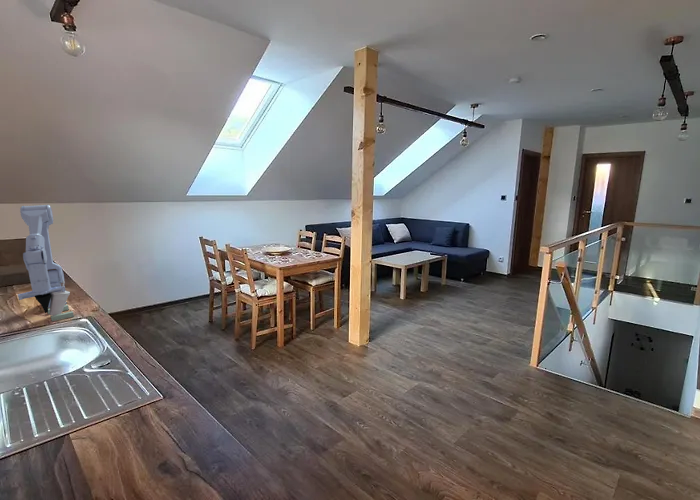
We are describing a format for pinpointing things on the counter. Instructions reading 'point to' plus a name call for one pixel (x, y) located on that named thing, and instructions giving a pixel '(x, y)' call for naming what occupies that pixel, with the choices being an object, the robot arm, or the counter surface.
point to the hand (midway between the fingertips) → (46, 312)
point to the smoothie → (58, 301)
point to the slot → (63, 315)
